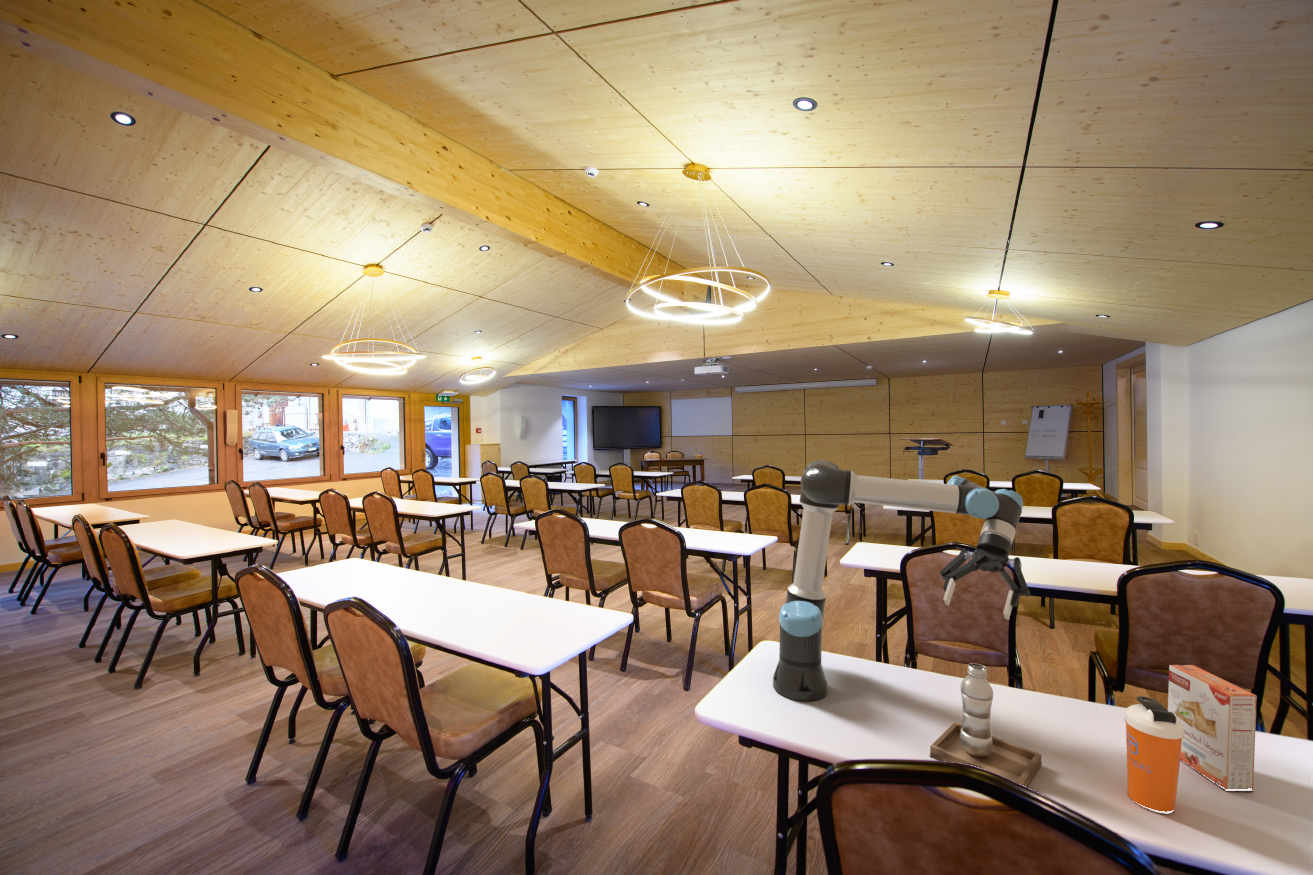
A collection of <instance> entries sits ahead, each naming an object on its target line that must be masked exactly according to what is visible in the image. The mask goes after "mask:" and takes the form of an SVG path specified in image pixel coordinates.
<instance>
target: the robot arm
mask: <svg viewBox="0 0 1313 875" xmlns="http://www.w3.org/2000/svg"><path fill="white" fill-rule="evenodd" d="M800 488H801V489H800V497H799V503H800V505H801V506H802V508H803V510H802V518H801V519H802V520H801V525H800V534H799V539H798V540H799V541H798V548H797V554H796V562H795V569H794V577H793V583H791V584H790V585H788V586H787V591H786V596H785V597H786V599H785V603H784V604H783V605H782V606H781V608H780V610H779V615H778V621H779V651H778V652H779V659H778V662H777V664H776V668H775V671H774V673H773V676H772V686H773V689H774V691H775V692H777V694H779V695H781V696H783V697H785V698H787V699H790V700H793V701H800V702H801V701H802V702H814V701H818V700H822V699H823V698H825V697H826V696H827V694H828V685H829V684H828V681H827V679H826V674H825V670H824V668H823V665H822V646H823V645H822V638H823V636H822V635H823V624H824V623H823V622H824V617H825V607H826V601H827V600H826V599H827V594H826V592H825V591H824V590H823V584H824V577H825V569H826V562H827V554H828V548H829V542H830V535H831V534H830V533H831V527H832V521H833V514H834V513H835V512H836V511H837V510H838V509H840V505H842V506H850V505H852V504H854V503H857V504H866V505H877V506H885V507H886V506H887V507H892V508H893V507H894V508H902V509H911V510H920V511H921V510H922V511H932V512H939V513H952V514H955V515H956V514H957V515H966V516H970V517H971V516H972V517H973V518H976V519H981V520H982V519H983V520H984V522H983V526H982V528H981V530H980V535H979V537H978V541H977V544H976V546H975V550H974V551H973V552H972V551H968V550H967V549H966V548H962V549H961V550H960V552H959V554H958V555H957V556H956V557H955V558H953V559H952V560H951V561H950V562H949V563H948V564H946V566H944V568H942V569H941V570H940V571H939V574H940V576H941V578H942V579H943V580H944V584H943V587H942V588H943V590H944V592H945V593H944V596H943V602H944V604H945V605H946V606H950V603H951V600H952V596H953V593H954V591H955V587H956V581H958V580H959V579H962V578H963V577H965V576H967V575H969V574H971V573H973V572H977V571H978V570H980V571H983V572H989V573H993V574H995V573H997V572H998V573H999V575H1000V576H1001V577H1002V579H1003V580H1004V581H1005V583H1006V584H1007V585H1008V587H1009V589H1010V590H1008V593H1007V594H1008V595H1007V597H1006V601H1005V605H1004V608H1003V611H1002V613H1003V617H1004V619H1005V620H1008V621H1009V620H1010V616H1011V613H1012V610H1013V608H1017V607H1019V606H1018V605H1019V603H1020V602H1019V601H1020V597H1022V596H1023V597H1030V596H1031V592H1030V590H1029V587H1028V584H1027V582H1026V580H1025V577H1024V574H1023V572H1022V561H1021V559H1020V557H1018V556H1016V557H1014V558H1009V557H1010V553H1011V549H1012V545H1013V542H1014V539H1015V535H1016V532H1017V527H1018V525H1019V521H1020V518H1021V515H1022V513H1023V506H1024V500H1023V497H1022V496H1021V495H1020V494H1019V493H1018V492H1016V491H1014V490H1012V489H1010V490H1008V489H1005V488H1002V489H997V490H995V491H992V490H990V489H988V488H986V487H983V486H981V485H979V484H977V483H975V482H973V481H971V480H968V479H967V478H963V477H962V476H960V475H953V476H952V477H951V478H950V479H949V480H948V481H947V482H946V483H939V482H929V481H920V480H912V479H911V480H908V479H898V478H890V477H889V478H888V477H879V476H869V475H860V474H858V475H857V474H856V473H855V472H854V471H853V470H847V469H846V470H845V469H841V468H839V466H837V465H836V464H835V463H834V462H831V461H828V460H821V459H820V460H815V461H813V462H811V463H809V464H808V465H807V466H806V467H805V468H804V470H803V473H802V475H801V478H800ZM971 558H972V559H971ZM969 559H970V560H969ZM966 561H968V562H967V563H965V562H966ZM1008 565H1010V566H1011V568H1013V569H1015V570H1014V571H1015V573H1016V576H1017V578H1018V581H1019V584H1020V586H1021V587H1019V586H1018V585H1017V584H1016V582H1015V581H1014V580H1013V579H1012V577H1011V576H1010V575H1009V573H1008V571H1007V570H1006V569H1005V567H1007V566H1008Z"/></svg>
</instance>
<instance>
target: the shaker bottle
mask: <svg viewBox="0 0 1313 875" xmlns="http://www.w3.org/2000/svg"><path fill="white" fill-rule="evenodd" d="M1136 700H1137V701H1138V702H1139V704H1138V703H1136V704H1132V705H1130V706H1127V707H1126V708H1125V709H1124V719H1123V720H1124V722H1125V737H1126V739H1125V741H1126V769H1127V770H1126V771H1127V772H1126V774H1127V776H1126V777H1127V779H1126V780H1127V795H1128V797H1130V798H1131V799H1132V800H1133V801H1135V802H1137V803H1138V804H1141V805H1143V806H1145V807H1148V808H1151V809H1154V810H1158V811H1165V812H1167V811H1172V810H1174V809H1175V810H1176V804H1177V802H1176V801H1177V792H1178V784H1179V783H1178V782H1179V772H1180V762H1181V761H1180V755H1181V745H1182V738H1183V737H1184V725H1183V724H1182V723H1181V721H1180V720H1179V719H1178V718H1177V717H1176V715H1175V714H1174V713H1173V712H1168V708H1166V707H1164V705H1163V704H1161V702H1159V701H1158V700H1156V699H1155V698H1151V697H1148V696H1145V695H1144V696H1141V695H1139V696H1137V697H1136ZM1130 798H1129V799H1130ZM1131 799H1130V800H1131ZM1132 800H1131V801H1132ZM1133 801H1132V802H1133Z"/></svg>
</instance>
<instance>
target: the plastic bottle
mask: <svg viewBox="0 0 1313 875" xmlns="http://www.w3.org/2000/svg"><path fill="white" fill-rule="evenodd" d="M987 669H988V668H987V667H986V666H985V665H983V664H980V663H975V662H972V663H971V662H970V663H968V665H967V675H966V676H965V677H964V679H962V681H961V683H960V693H961V701H962V721H961V724H962V728H961V731H960V743H961V746H962V747H963V749H964V750H965V751H966V752H967V753H969V754H971V755H973V756H977V757H988V756H989V755H990V754H991V753H992V749H993V742H992V737H991V736H992V733H991V732H992V730H991V712H992V711H991V710H992V705H993V698H994V691H993V687H992V686H991V684H990V683H989V681H988V679H987V677H988V672H987V671H988V670H987Z"/></svg>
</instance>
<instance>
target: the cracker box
mask: <svg viewBox="0 0 1313 875" xmlns="http://www.w3.org/2000/svg"><path fill="white" fill-rule="evenodd" d="M1167 695H1168V696H1167V711H1168V712H1173V713H1174V714H1175V715H1176V717H1177V718H1178V719H1179V720H1180V721H1181V723H1182V724H1183V725H1184V737H1183V738H1182V745H1181V755H1180V759H1181V760H1182V761H1184V762H1185V763H1187V764H1188V765H1189V766H1191V767H1193V768H1194V769H1196V770H1197V771H1198V772H1200V773H1201V774H1203V775H1205V776H1206V777H1208V778H1209V779H1211V780H1212V781H1214V782H1215V783H1217V784H1218V785H1220V786H1222V787H1224V788H1225V789H1248V788H1250V789H1251V788H1252V789H1253V790H1254V778H1255V777H1254V775H1255V774H1254V772H1255V750H1256V749H1255V748H1256V726H1257V725H1256V721H1257V720H1256V719H1257V699H1258V698H1257V695H1256V694H1254V693H1252V692H1250V691H1249V690H1246V689H1244V688H1242V687H1240V686H1237V685H1236V684H1234V683H1231V682H1229V681H1228V680H1225V679H1223V678H1221V677H1219V676H1217V675H1215V674H1212V673H1211V672H1208V671H1206V670H1204V669H1202V668H1201V667H1198V666H1197V665H1194V664H1183V665H1182V664H1169V667H1168V694H1167ZM1182 761H1181V762H1182ZM1185 763H1184V764H1185ZM1188 765H1187V766H1188ZM1189 766H1188V767H1189ZM1191 767H1190V768H1191ZM1194 769H1193V770H1194ZM1198 772H1197V773H1198ZM1201 774H1200V775H1201Z"/></svg>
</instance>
